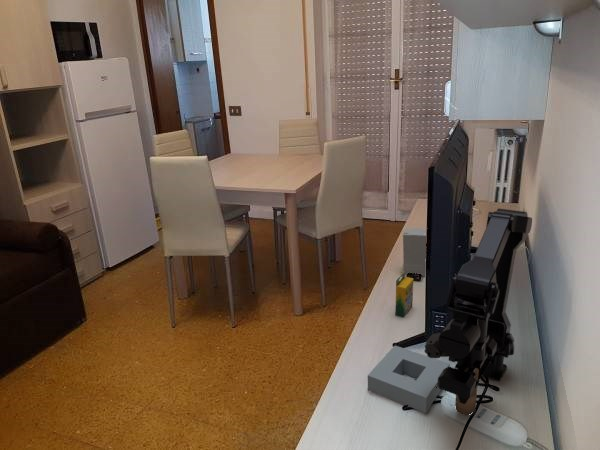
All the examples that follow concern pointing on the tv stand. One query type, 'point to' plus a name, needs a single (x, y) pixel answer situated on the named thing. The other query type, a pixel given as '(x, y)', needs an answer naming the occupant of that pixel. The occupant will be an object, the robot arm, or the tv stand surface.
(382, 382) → the socket block
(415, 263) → the skincare box
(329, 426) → the tv stand surface
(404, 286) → the crayon box
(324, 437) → the tv stand surface
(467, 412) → the walnut peg
